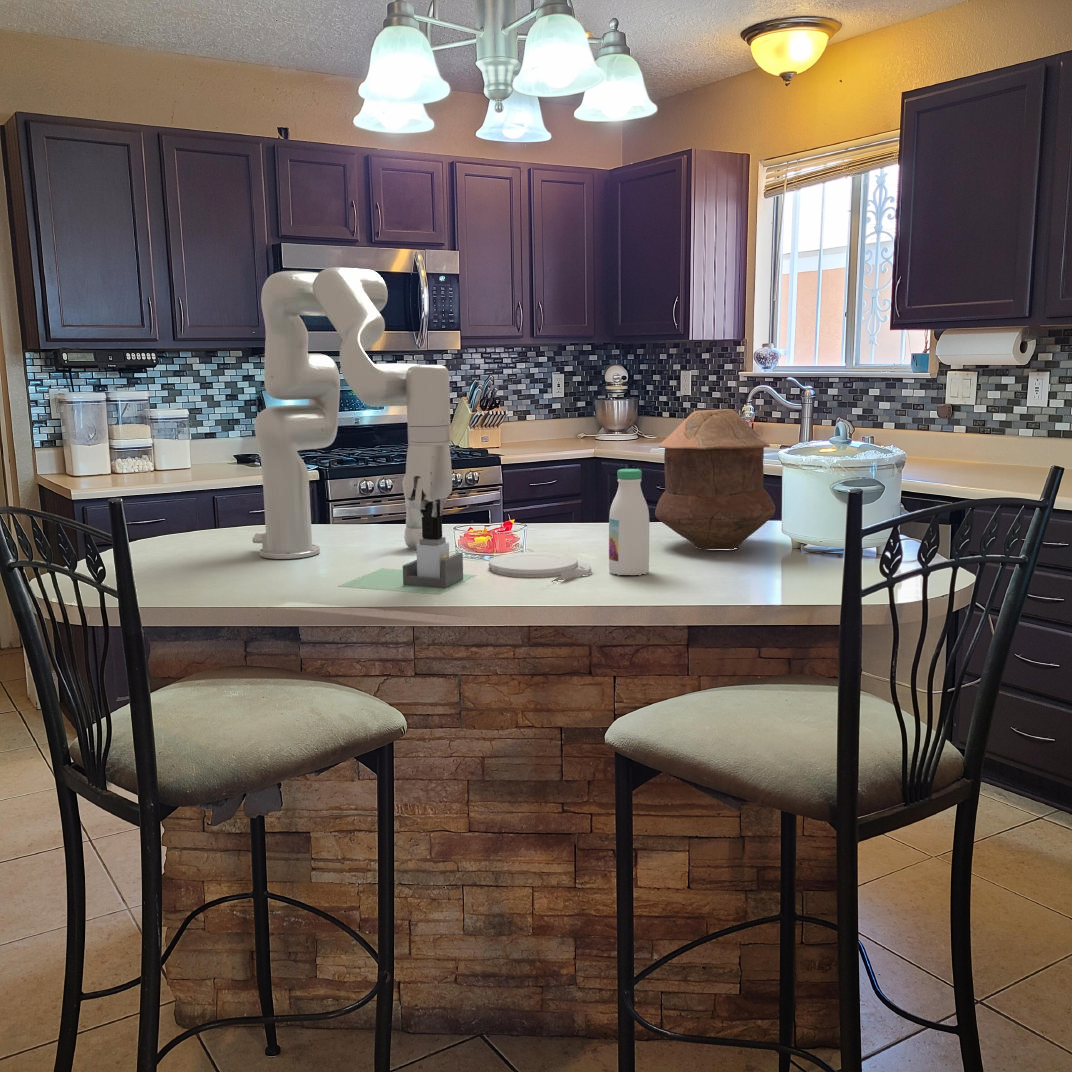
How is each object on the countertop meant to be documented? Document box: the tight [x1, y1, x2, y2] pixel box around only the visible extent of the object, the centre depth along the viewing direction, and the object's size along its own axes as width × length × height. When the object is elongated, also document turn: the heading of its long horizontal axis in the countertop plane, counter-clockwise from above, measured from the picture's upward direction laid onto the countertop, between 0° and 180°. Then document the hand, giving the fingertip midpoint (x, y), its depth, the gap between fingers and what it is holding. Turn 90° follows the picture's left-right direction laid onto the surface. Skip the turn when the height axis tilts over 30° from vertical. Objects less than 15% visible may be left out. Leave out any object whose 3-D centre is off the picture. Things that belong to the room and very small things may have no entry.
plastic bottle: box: [401, 474, 425, 550], centre depth 216 cm, size 6×7×20 cm
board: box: [337, 568, 477, 595], centre depth 181 cm, size 20×16×1 cm
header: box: [402, 552, 464, 588], centre depth 179 cm, size 8×7×5 cm
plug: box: [416, 536, 450, 578], centre depth 178 cm, size 5×4×8 cm
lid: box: [488, 551, 592, 583], centre depth 191 cm, size 17×20×3 cm
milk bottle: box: [608, 468, 650, 576], centre depth 190 cm, size 8×8×20 cm
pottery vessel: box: [654, 408, 776, 550], centre depth 213 cm, size 26×26×30 cm
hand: (432, 538), depth 178 cm, fingers closed
